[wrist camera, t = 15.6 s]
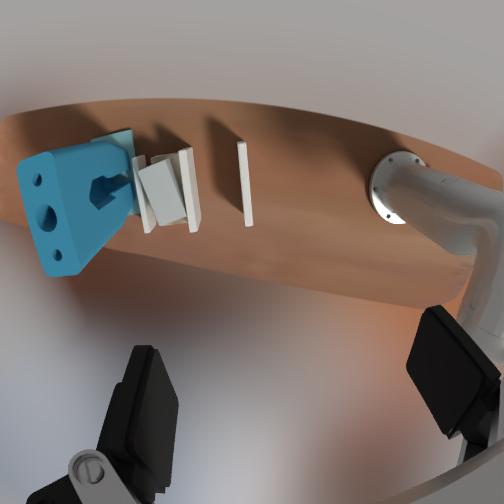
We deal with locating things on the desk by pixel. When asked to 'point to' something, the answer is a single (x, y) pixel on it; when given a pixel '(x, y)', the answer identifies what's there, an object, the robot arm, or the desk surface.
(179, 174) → the block
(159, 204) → the upper offcut
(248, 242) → the desk surface
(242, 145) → the rack
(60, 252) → the block
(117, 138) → the mat
